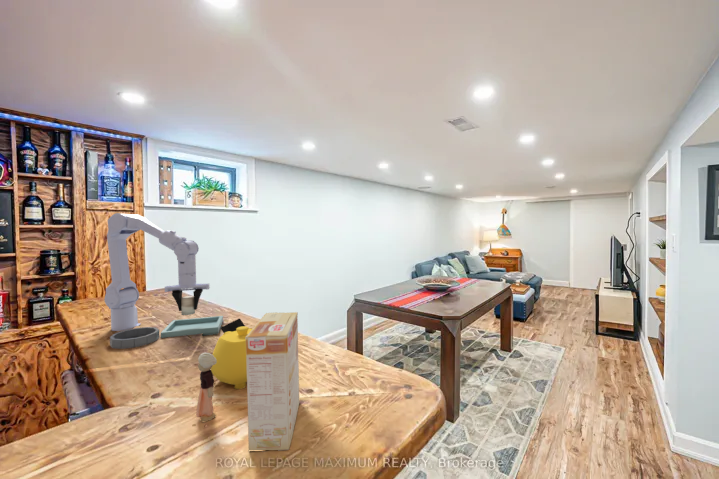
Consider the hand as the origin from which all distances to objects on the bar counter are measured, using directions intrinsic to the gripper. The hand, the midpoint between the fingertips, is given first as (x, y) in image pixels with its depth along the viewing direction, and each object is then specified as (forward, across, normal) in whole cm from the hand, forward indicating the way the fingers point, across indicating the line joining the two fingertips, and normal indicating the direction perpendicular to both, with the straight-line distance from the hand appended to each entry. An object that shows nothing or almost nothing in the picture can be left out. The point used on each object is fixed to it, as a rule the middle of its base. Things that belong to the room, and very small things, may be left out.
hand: (188, 309), depth 115 cm
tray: (+8, +2, 0) cm, 8 cm away
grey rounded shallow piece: (+8, -14, -9) cm, 18 cm away
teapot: (+8, +22, -48) cm, 53 cm away
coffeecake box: (+8, +28, -69) cm, 75 cm away
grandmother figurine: (+8, +15, -62) cm, 64 cm away
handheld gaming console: (+8, +20, -16) cm, 26 cm away
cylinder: (+1, 0, 0) cm, 1 cm away
